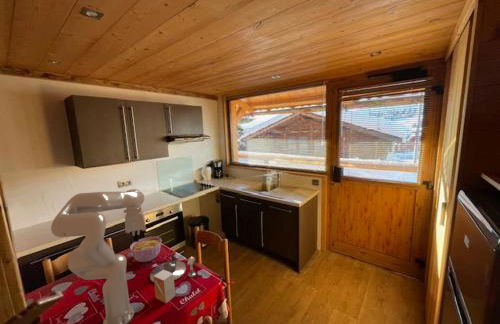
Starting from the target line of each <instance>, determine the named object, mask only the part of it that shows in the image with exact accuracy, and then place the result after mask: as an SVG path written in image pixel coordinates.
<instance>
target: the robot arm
mask: <svg viewBox="0 0 500 324" xmlns="http://www.w3.org/2000/svg"><path fill="white" fill-rule="evenodd" d="M144 202H145V195H144V193H143V192H142V191H140V190H139V189H136V188H135V189H133V188H132V189H129V190H126V191H96V192H95V191H92V192H80V193H76V194H74V195H73V196H72V197H71V198H70V199H69V200H68V201H67V202H66V203H65V205H63V207H62V208H61V210H60V211H59V212H58V213H57V214H56V216H55V217H54V219H53V220H52V221H51V226H50V231H51V234H52V235H54V236H55V237H57V238H70V237H72V238H73V237H82V236H85V237H84V239H83V240H82V241H81V243H80V244H79V246H78V247H76V248H74V249H73V250H71V252H70V254H69V255H68V258H67V266H68V270H69V271H71V273H73V274H75V275H77V277H79V278H81V279H83V280H87V281H92V280H99V279H106V281H105V282H104V283H103V286H102V294H103V302H104V309H105V315H106V316H105V318H104V319H103V322H102V324H129V323H130V321H131V320H132V319H133V317H134V316H135V309H134V308H133V306H131V305H130V298H129V297H130V296H129V288H128V281H127V263H128V262H127V260H128V259H127V258H126V256H125V255H124V254H121V253H119V254H118V253H117V254H116V253H115V251H114V249H113V248H112V247H111V246H110V245H109V244H108V243H107V241H105V239H104V238H105V233H106V228H107V227H106V226H107V219H106V216H105V215H104V214H103V213H102V212H107V211H114V210H120V209H124V210H123V213H125V215H124V229H125V234H131V236H133V241H134V242H138V241H139V240H140V239H141V237H140V234H141V233H142V232H144V231H146V230H147V227H146V219H145V214H144V212H143V211H142V205H143V203H144ZM125 208H126V209H125ZM136 231H137V232H136Z"/></svg>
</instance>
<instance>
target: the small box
mask: <svg viewBox="0 0 500 324" xmlns="http://www.w3.org/2000/svg"><path fill="white" fill-rule="evenodd" d="M153 284H154V293H155V299H157V300H158V301H161V302H162V303H164V304H167V303H168V302H170V301H171V300H172V299H173V298H174V297H175V296H176V287H175V281H174V277H173V273H171V272H169V271H166V270H162V271H160V272H159V273H157V274H156V275H154V282H153Z"/></svg>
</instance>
